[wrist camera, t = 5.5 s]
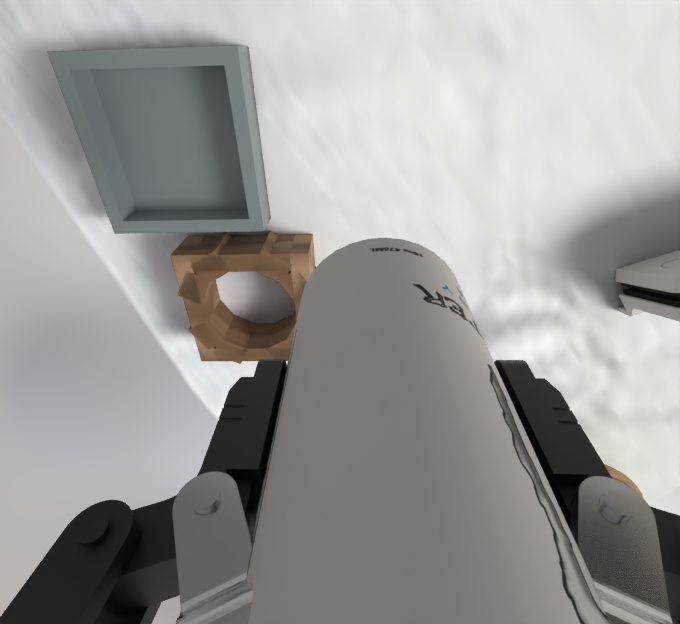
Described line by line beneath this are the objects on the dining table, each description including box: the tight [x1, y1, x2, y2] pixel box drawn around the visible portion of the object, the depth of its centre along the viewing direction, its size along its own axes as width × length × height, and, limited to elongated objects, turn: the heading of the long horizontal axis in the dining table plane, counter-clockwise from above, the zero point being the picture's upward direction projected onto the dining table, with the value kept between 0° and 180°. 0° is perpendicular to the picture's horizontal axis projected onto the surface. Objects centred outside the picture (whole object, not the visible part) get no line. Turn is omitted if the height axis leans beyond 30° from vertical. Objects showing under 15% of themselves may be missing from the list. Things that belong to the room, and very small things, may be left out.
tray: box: [47, 45, 271, 234], centre depth 28 cm, size 12×12×3 cm
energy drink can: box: [247, 238, 610, 624], centre depth 9 cm, size 6×6×15 cm
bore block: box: [170, 231, 316, 364], centre depth 35 cm, size 12×12×4 cm
